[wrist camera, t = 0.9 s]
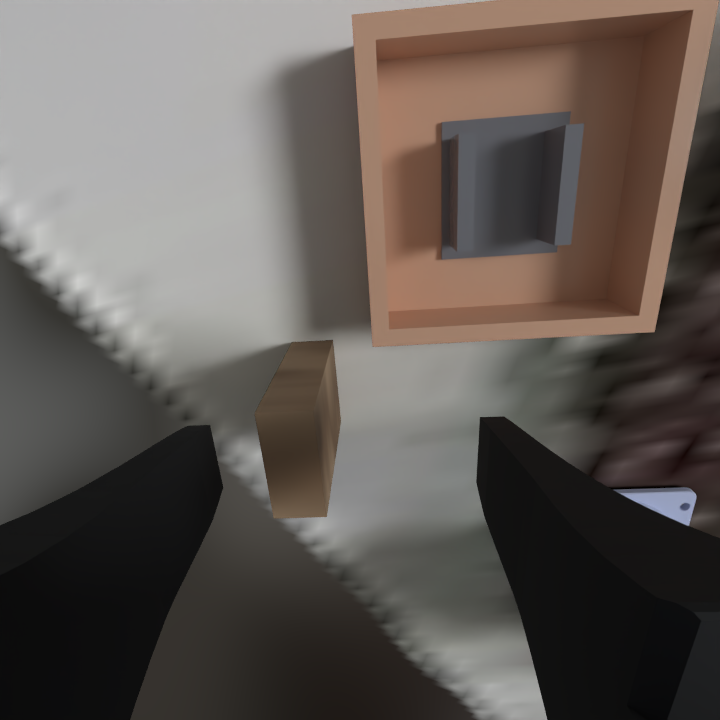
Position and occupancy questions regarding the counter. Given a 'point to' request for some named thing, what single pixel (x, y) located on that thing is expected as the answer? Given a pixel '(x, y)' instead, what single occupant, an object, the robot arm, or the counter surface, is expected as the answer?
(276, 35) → the counter surface
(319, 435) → the tall brown plank
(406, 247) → the shallow square frame box
